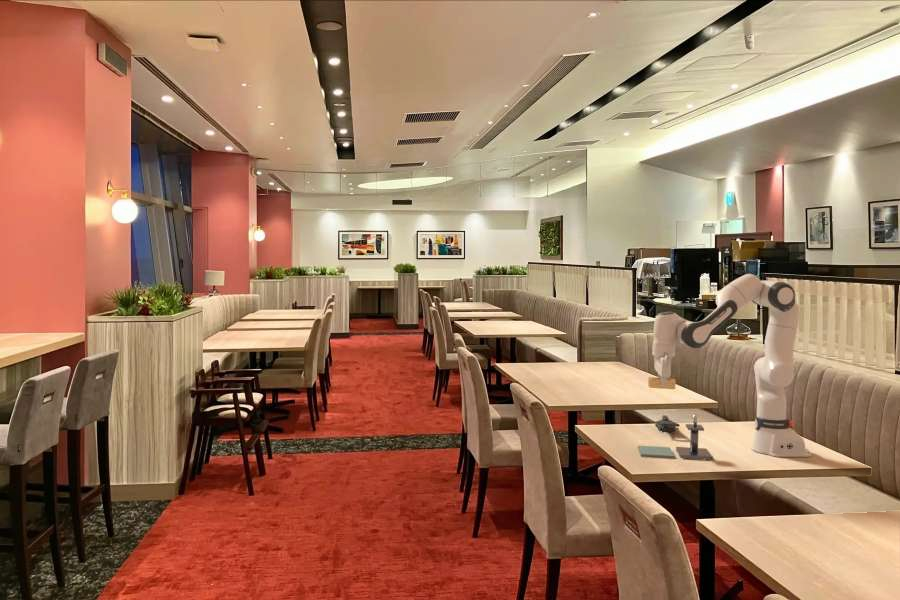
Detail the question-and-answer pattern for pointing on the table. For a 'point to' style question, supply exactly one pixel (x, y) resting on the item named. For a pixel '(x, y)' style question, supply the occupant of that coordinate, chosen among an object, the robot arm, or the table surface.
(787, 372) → the robot arm
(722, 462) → the table surface
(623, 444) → the table surface
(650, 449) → the rubber mat
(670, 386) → the wooden rectangular frame
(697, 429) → the pin stand
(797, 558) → the table surface
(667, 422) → the zipper pull
